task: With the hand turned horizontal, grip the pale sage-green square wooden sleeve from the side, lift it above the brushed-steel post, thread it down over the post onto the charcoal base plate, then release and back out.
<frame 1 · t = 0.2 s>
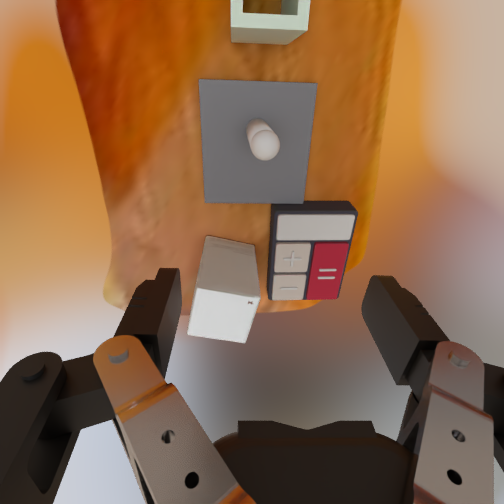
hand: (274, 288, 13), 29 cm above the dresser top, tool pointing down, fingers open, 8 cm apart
sleeve: (260, 7, 31), on the dresser top
supplement box: (225, 259, 45), on the dresser top
dark gray paneled box: (304, 247, 45), on the dresser top
post stand: (256, 128, 36), on the dresser top
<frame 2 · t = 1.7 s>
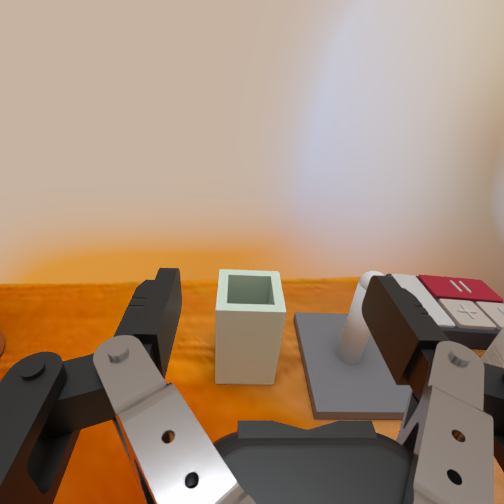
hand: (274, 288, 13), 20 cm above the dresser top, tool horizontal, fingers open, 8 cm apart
sleeve: (244, 359, 33), on the dresser top
dark gray paneled box: (444, 320, 42), on the dresser top
post stand: (345, 361, 34), on the dresser top
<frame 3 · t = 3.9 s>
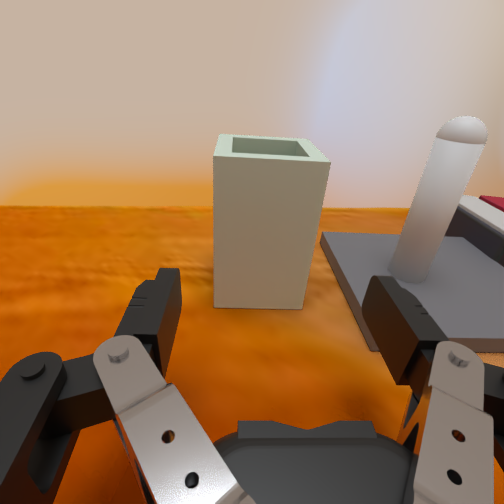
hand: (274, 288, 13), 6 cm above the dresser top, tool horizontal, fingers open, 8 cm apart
sleeve: (256, 281, 23), on the dresser top
post stand: (401, 285, 24), on the dresser top
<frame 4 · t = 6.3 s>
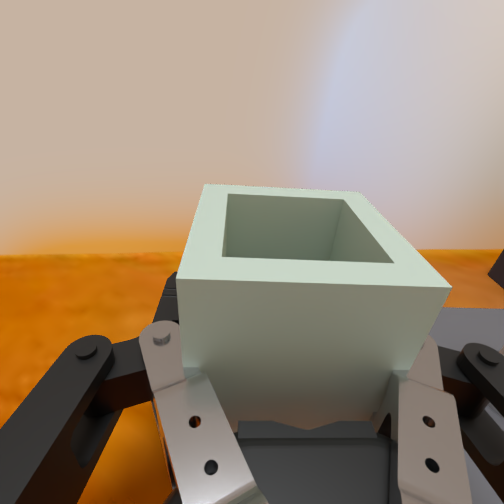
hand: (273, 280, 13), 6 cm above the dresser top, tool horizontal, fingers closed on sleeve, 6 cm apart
sleeve: (265, 413, 14), on the dresser top, touching gripper
post stand: (496, 414, 15), on the dresser top
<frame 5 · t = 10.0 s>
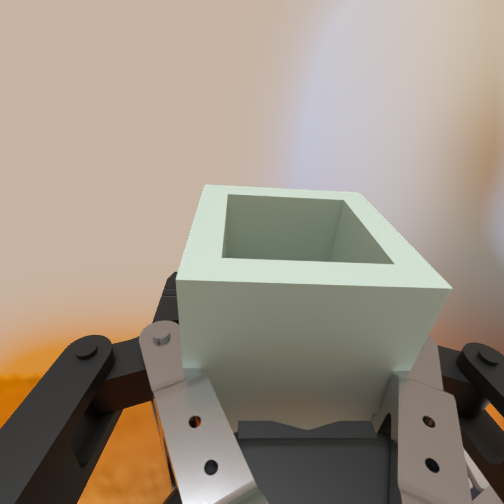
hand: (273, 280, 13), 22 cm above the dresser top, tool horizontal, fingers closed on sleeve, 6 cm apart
sleeve: (265, 414, 14), point 16 cm above the dresser top, touching gripper
dark gray paneled box: (405, 444, 29), on the dresser top, touching post stand
when the fingers open (8 cm above the dresser top, at t = 13.7 s): sleeve drops 1 cm, resting on post stand.
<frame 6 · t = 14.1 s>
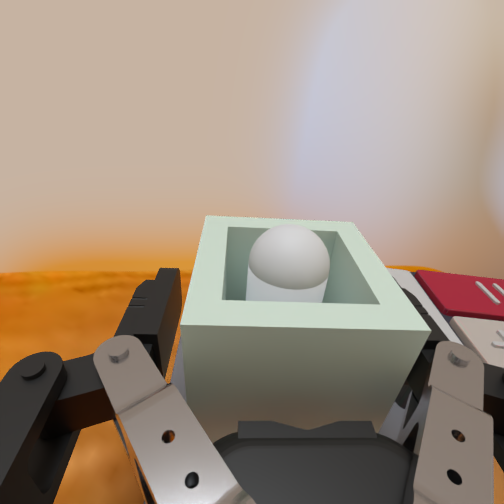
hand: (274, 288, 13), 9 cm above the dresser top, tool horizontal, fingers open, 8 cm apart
sleeve: (264, 429, 15), point 1 cm above the dresser top, touching post stand
dark gray paneled box: (463, 358, 22), on the dresser top
post stand: (261, 442, 15), on the dresser top
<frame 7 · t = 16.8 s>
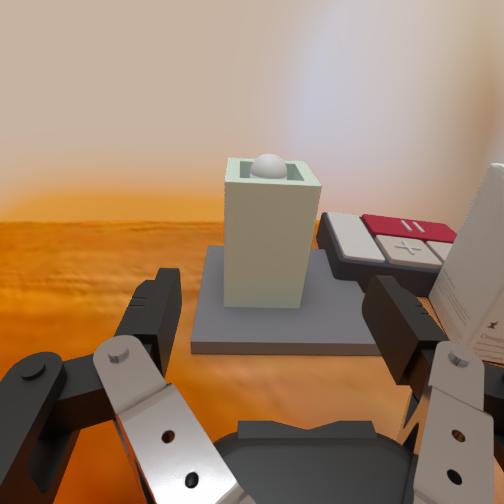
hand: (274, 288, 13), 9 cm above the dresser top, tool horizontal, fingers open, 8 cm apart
sleeve: (259, 284, 26), point 1 cm above the dresser top, touching post stand
supplement box: (486, 334, 24), on the dresser top
dark gray paneled box: (389, 269, 33), on the dresser top, touching post stand
post stand: (258, 295, 27), on the dresser top
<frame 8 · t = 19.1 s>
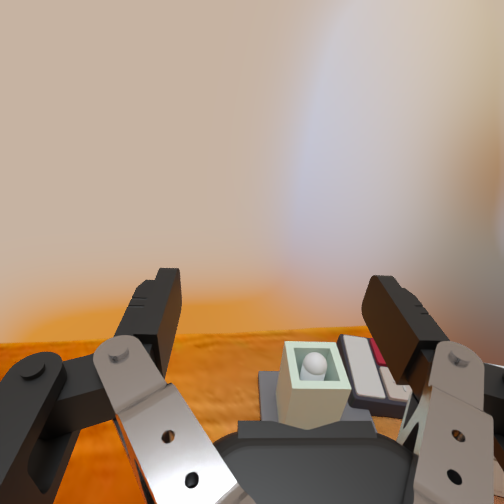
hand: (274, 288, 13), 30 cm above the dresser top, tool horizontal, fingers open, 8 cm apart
sleeve: (301, 416, 38), point 1 cm above the dresser top, touching post stand
supplement box: (458, 457, 36), on the dresser top
dark gray paneled box: (389, 385, 44), on the dresser top
post stand: (299, 421, 38), on the dresser top
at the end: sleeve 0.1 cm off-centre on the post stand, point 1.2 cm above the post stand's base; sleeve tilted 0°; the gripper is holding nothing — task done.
